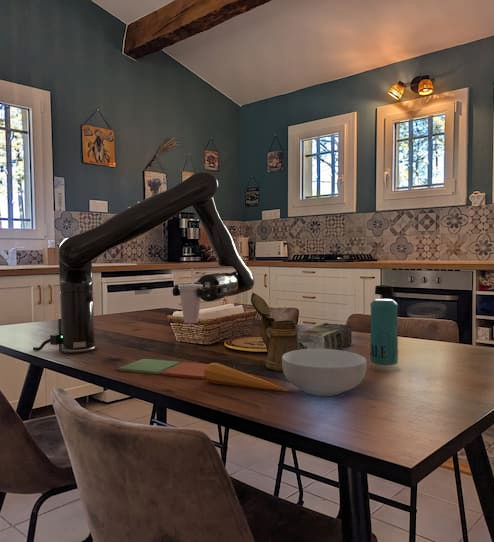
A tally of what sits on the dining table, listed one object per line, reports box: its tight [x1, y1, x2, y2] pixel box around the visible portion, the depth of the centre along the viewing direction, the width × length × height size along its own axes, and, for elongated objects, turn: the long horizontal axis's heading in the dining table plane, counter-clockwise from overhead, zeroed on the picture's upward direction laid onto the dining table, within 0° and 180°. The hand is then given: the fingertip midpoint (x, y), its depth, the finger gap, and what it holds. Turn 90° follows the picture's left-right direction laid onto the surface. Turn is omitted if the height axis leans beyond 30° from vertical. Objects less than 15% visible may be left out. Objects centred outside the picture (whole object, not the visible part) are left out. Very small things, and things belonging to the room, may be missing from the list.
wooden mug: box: [250, 292, 300, 372], centre depth 125 cm, size 9×14×18 cm, turn 57°
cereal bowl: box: [282, 349, 367, 397], centre depth 104 cm, size 17×17×7 cm
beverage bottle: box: [369, 284, 399, 366], centre depth 121 cm, size 6×7×20 cm
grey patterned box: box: [298, 322, 353, 350], centre depth 145 cm, size 20×10×6 cm, turn 145°
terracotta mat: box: [160, 361, 209, 380], centre depth 122 cm, size 11×11×1 cm
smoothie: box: [177, 267, 203, 324], centre depth 132 cm, size 6×6×14 cm
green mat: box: [117, 358, 181, 375], centre depth 127 cm, size 11×11×1 cm
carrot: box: [204, 362, 290, 392], centre depth 108 cm, size 20×4×4 cm, turn 61°
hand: (186, 292), depth 130 cm, fingers closed on smoothie, 6 cm apart
